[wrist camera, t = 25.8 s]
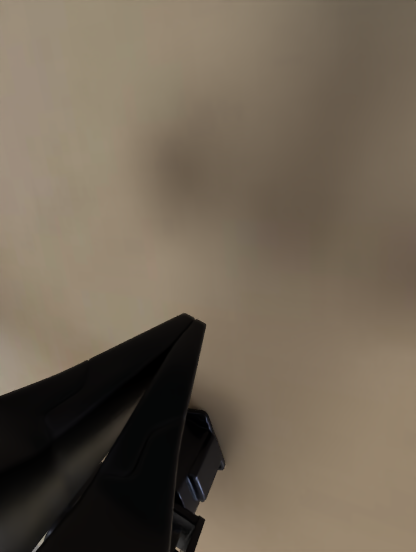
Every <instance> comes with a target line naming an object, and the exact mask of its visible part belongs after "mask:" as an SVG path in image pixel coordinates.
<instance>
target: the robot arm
mask: <svg viewBox="0 0 416 552" xmlns="http://www.w3.org/2000/svg"><path fill="white" fill-rule="evenodd" d="M205 329H206V324H205V323H203V322H202V321H200V320H198V319H194V317H192V316H190V315H188V314H186V313H183V314H181V315H179V316H177V317H174V318H172V319H170V320H168V321H166V322H164V323H162V324H160V325H158V326H156V327H154V328H152V329H150V330H148V331H146V332H144V333H142V334H140V335H138V336H136V337H134V338H132V339H129V340H127V341H125V342H123V343H121V344H119V345H117V346H115V347H113V348H111V349H109V350H107V351H105V352H103V353H101V354H99V355H97V356H95V357H93V358H91V359H89V361H88V360H86V361H84V362H82V363H80V364H78V365H76V366H74V367H72V368H70V369H67V370H65V371H63V372H61V373H59V374H56V375H54V376H51V377H49V378H46V379H44V380H41V381H39V382H36V383H33V384H31V385H28V386H26V387H23V388H20V389H18V390H15V391H12V392H10V393H7V394H4V395H2V396H0V552H32V551H33V549H34V548H35V547H36V545H37V544H38V543H39V542H40V540H41V539H42V538H43V536H44V535H45V534H46V532H47V531H48V532H47V534H46V536H45V539H44V542H43V543H42V545H41V546H40V547H39V548H38V549H37V551H36V552H178V551H177V550H176V549H175V548H176V547H178V548H179V549H180V552H194V551H195V548H196V545H197V542H198V539H199V536H200V534H201V531H202V528H203V525H204V522H205V519H204V518H202V517H201V516H197V515H195V512H196V509H197V507H198V505H199V502H200V501H201V502H204V501H205V500H206V498H207V495H208V493H209V490H210V488H211V485H212V483H213V480H214V478H215V475H216V473H217V470H223V469H224V467H225V461H224V458H223V455H222V453H221V450H220V447H219V444H218V441H217V439H216V436H215V433H214V430H213V428H212V425H211V422H210V419H209V416H208V414H207V413H206V412H205V411H203V410H193V409H188V406H189V401H190V397H191V392H192V388H193V383H194V379H195V374H196V370H197V365H198V361H199V356H200V352H201V347H202V342H203V338H204V333H205ZM108 452H109V453H108ZM106 455H107V456H106ZM105 456H106V458H105V459H104V457H105ZM103 459H104V461H103V463H102V462H101V461H102V460H103Z"/></svg>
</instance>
